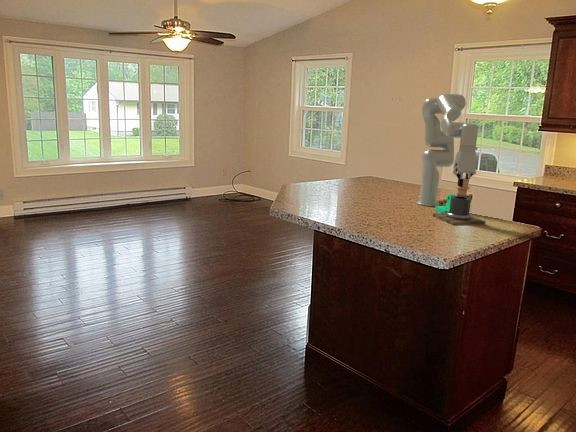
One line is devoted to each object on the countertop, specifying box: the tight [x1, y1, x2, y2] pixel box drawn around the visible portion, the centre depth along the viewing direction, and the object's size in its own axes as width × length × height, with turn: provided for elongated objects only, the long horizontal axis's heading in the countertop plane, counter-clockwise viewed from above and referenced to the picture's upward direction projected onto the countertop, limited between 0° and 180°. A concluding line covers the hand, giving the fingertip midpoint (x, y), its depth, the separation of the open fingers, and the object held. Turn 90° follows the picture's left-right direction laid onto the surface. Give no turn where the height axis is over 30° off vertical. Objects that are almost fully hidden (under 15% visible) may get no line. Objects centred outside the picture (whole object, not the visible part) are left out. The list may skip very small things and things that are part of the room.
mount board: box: [432, 212, 486, 226], centre depth 245 cm, size 18×18×2 cm
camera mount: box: [434, 193, 457, 213], centre depth 260 cm, size 12×8×10 cm, turn 10°
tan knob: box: [455, 177, 471, 197], centre depth 241 cm, size 6×6×9 cm
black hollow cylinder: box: [446, 195, 473, 220], centre depth 243 cm, size 12×12×10 cm
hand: (462, 186), depth 241 cm, fingers closed on tan knob
